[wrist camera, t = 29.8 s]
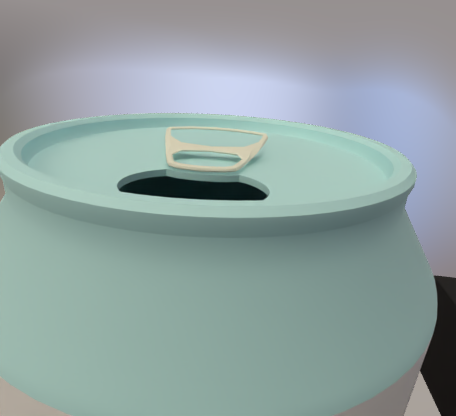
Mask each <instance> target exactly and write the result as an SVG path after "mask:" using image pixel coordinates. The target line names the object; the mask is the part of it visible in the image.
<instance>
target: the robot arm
mask: <svg viewBox="0 0 456 416" xmlns="http://www.w3.org/2000/svg"><path fill="white" fill-rule="evenodd" d="M434 279H435V284H436V290H437V320H436V324H435V328H434V332H433V336H432V338H431V341H430V344H429V347H428V349H427V352H426V355H425V358H424V360H423V363H422V366H421V369H420V372H421V374H422V375H423V378H424V380H425V382H426V384H427V386H428V389H429V391H430V393H431V395H432V397H433V399H434V401H435V404H436V406H437V408H438V410H439V412H440V414H441V416H456V278H452V277H442V276H434Z"/></svg>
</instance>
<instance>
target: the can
mask: <svg viewBox="0 0 456 416" xmlns="http://www.w3.org/2000/svg"><path fill="white" fill-rule="evenodd" d="M0 177H1V178H2V180H3V183H4V188H5V192H6V193H5V195H4V197H3V199H2V200H1V202H0V416H404V413H405V410H406V407H407V404H408V402H409V399H410V396H411V393H412V391H413V388H414V385H415V382H416V379H417V377H418V374H419V371H420V369H421V366H422V363H423V360H424V358H425V355H426V352H427V349H428V347H429V344H430V341H431V338H432V336H433V332H434V328H435V324H436V320H437V290H436V284H435V279H434V276H433V273H432V271H431V268H430V265H429V263H428V261H427V259H426V256H425V254H424V252H423V249H422V247H421V245H420V242H419V240H418V238H417V235H416V233H415V231H414V229H413V226H412V224H411V222H410V219H409V217H408V215H407V212H406V210H405V204H406V201H407V197H408V195H409V194H410V192H411V191H412V189H413V188H414V185H415V181H416V178H417V174H416V170H415V168H414V166H413V165H412V164H411V163H410V161H409V160H408V159H407V158H406V157H405V156H404V155H403V154H401V153H400V152H399V151H397V150H395V149H393V148H391V147H389V146H387V145H385V144H383V143H380V142H377V141H375V140H372V139H369V138H366V137H362V136H359V135H356V134H352V133H348V132H344V131H339V130H335V129H331V128H326V127H321V126H314V125H310V124H303V123H297V122H290V121H283V120H275V119H266V118H256V117H245V116H232V115H216V114H188V113H148V114H123V115H108V116H97V117H88V118H80V119H72V120H66V121H61V122H55V123H50V124H46V125H42V126H38V127H34V128H31V129H28V130H26V131H23V132H20V133H18V134H16V135H14V136H13V137H11V138H9V139H8V140H7V141H6V142H5V143H3V145H1V147H0Z"/></svg>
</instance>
